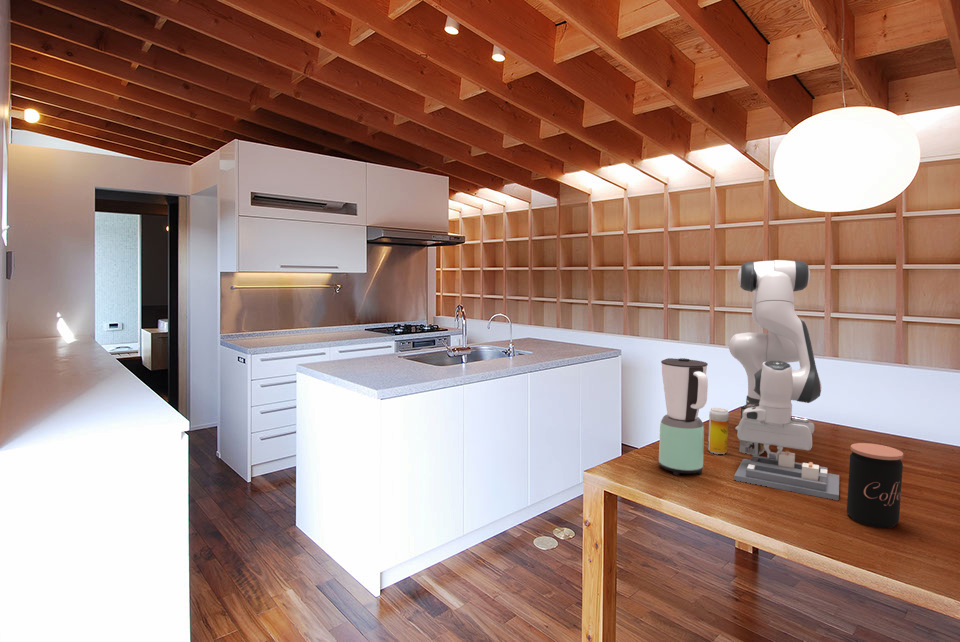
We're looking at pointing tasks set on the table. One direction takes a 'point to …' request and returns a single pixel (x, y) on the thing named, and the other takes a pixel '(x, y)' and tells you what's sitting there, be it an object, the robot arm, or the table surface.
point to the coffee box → (747, 445)
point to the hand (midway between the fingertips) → (772, 458)
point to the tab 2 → (810, 471)
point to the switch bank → (787, 477)
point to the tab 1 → (786, 459)
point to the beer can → (718, 430)
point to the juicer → (683, 415)
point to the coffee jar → (874, 485)
